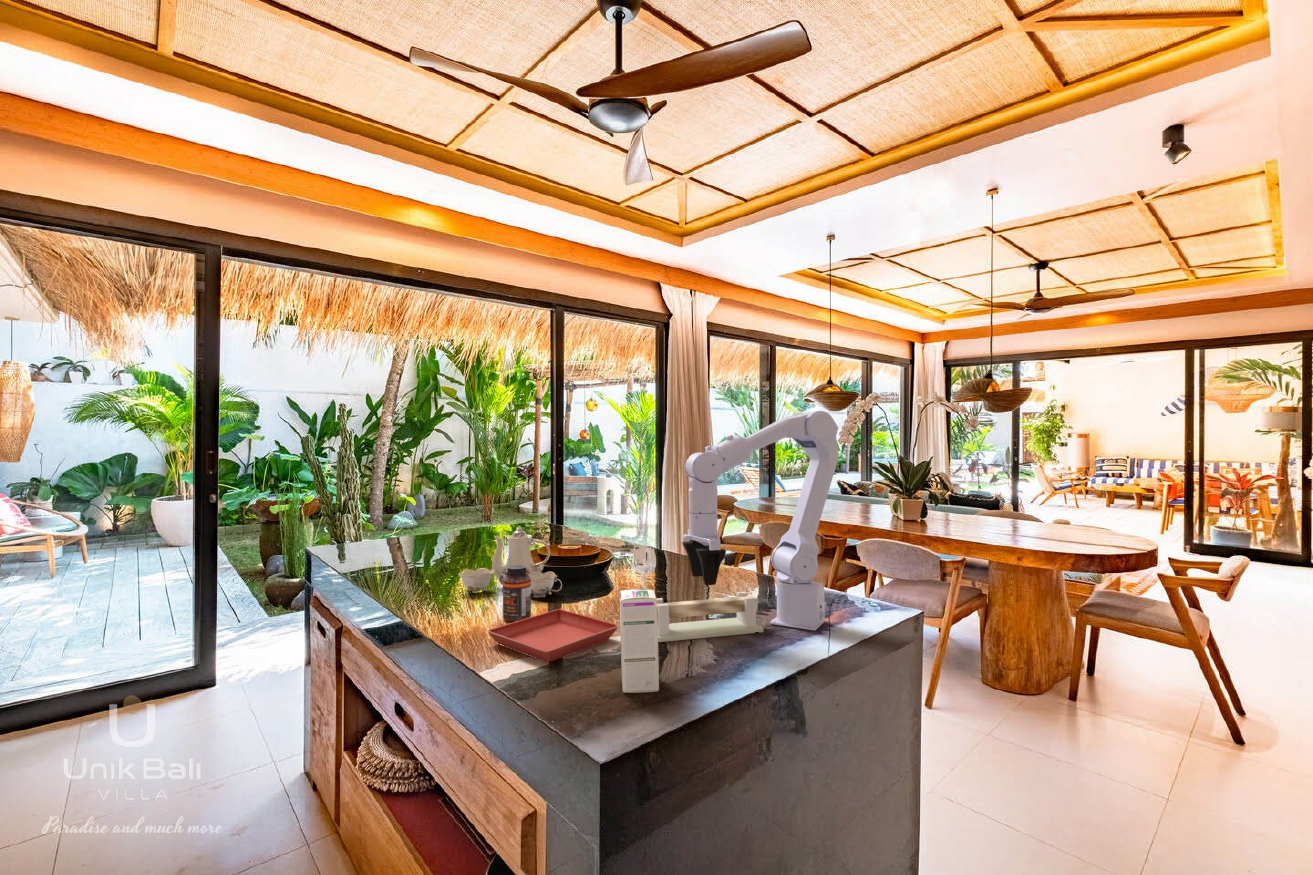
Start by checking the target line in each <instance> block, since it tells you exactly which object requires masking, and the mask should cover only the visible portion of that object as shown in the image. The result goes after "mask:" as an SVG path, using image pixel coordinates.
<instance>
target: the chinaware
mask: <svg viewBox="0 0 1313 875" xmlns="http://www.w3.org/2000/svg"><path fill="white" fill-rule="evenodd" d="M493 537H494V539H495V540H496V543H497V544H496V548H495V552H494V554H493V558H492V560H491V561H492V562H491V570H490V569H488V568H486V567H482V568H477V569H475V570H474V569H471V568H467V569H464V570H463V571H462V572H458V573H457V576H459V577H461V578H460V579H461V581H462V584H463V586H464V587H465V588H466V589H467V590H469V591H480V590H484V589H486V588H487V587H488V585H489V584H490V582H491V579H492V575H493V576H494V577H495V578H496V579H497V580H498V581H499V583H500V585H502V586H503V579H504V578H505V577H506V576H507V574H508V573H507V568H508V567H509V566H512V565H525V566H526V574H527V575H528V576H529V577H530V578H531V595H532V598H537V599H538V598H539V597H540V598H545V597H546V596H545V595H546V594H548V595H550V596H551V595H552V594H553V593H552V592H555V593H556V592H557V593H558V592H559V591H561V590H562V587H563V584H562V581H561V580H560V579H559V578H557V577H558V574H555V572H553V571H547V572H542V571H543V569H544V565H543V564H545V563H547V561H548V560H549V558H550V557H551V556H550V555H551V549H550V547H549V544H548V543H546V541H544V540H542V539H532V537H533V535H531V534H527V533H526V531H524V530H523V528H522V526H521V525H518V526H517V528H516V530H515V531H513V533H512V535H508V536H507V537H506V538H507V542H508V557H507V560H506V564H505V563H503V560H502V557H503V547H504V544H503V540H502V538H501V537H500V536H499V535H494V536H493ZM537 543H541V544H542V545H544V546H545V548H546V551H547V555H546V557H545V559H544V560H543V561H541V562H538V563H534V561H533V557H532V554H531V547H532V548H536V546H537ZM557 581H559V583H560V587H559V589H557V590H556V589H552V588H553V586H554V583H555V582H556V583H557ZM551 591H552V592H551Z"/></svg>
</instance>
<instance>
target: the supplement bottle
mask: <svg viewBox="0 0 1313 875" xmlns="http://www.w3.org/2000/svg"><path fill="white" fill-rule="evenodd" d="M507 573H508V574H507V576H506V577H505V578H504V579H503V585H502V619H503V620H504V621H506V622H508V621H514V622H516V621H520V620H523V619H526V618H530V617H532V616H531V615H532V593H531V578H530V577H529V576H528V575H527V574H526V566H525V565H512V566H509V567H508V568H507Z"/></svg>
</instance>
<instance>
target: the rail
mask: <svg viewBox="0 0 1313 875" xmlns="http://www.w3.org/2000/svg"><path fill="white" fill-rule="evenodd" d="M745 597H755V596H754V595H747V596H744V597H736V596H734V597H720V598H709V599H697V600H696V599H695V600H684V601H683V600H682V601H672V602H663V603H657V619H658V604H668V605H669V619H675V618H676V619H678V618H685V617H687V618H689V617H698V616H699V617H701V616H711V615H722V614H724V615H725V614H732V613H737V612H745ZM755 598H756V612H757V611H758V606H759V605H758V597H755Z"/></svg>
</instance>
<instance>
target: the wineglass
mask: <svg viewBox="0 0 1313 875" xmlns="http://www.w3.org/2000/svg"><path fill="white" fill-rule="evenodd" d="M631 560H632V568H633V570H634V571H635V572H636V573H638V574H640V575H642V578H641V579H642V583H643V584H642V585H643V589H646V584H647V575H649V574H652V572H653V571H654V570H656V566H657V557H656V552H655V549H654V547H653V546H647V545H646V546H645V545H644V546H643V545H641V546H635V547H634V549H633V554H632V558H631Z"/></svg>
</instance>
